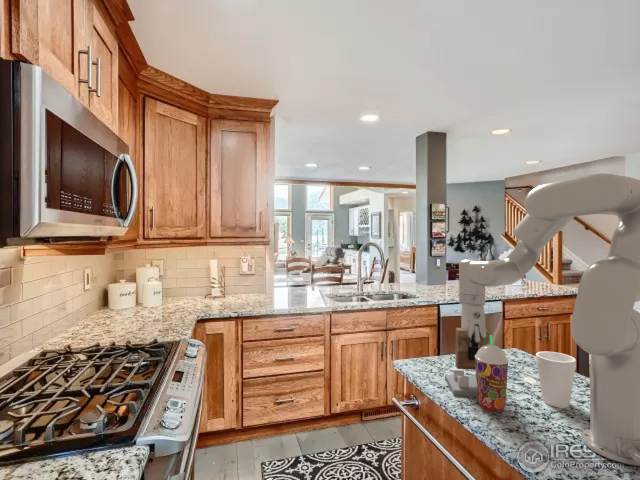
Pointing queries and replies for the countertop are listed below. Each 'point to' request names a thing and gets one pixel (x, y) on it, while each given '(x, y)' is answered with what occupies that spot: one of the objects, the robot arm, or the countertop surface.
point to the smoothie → (491, 377)
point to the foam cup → (556, 377)
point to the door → (466, 349)
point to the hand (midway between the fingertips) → (471, 357)
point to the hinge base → (462, 383)
